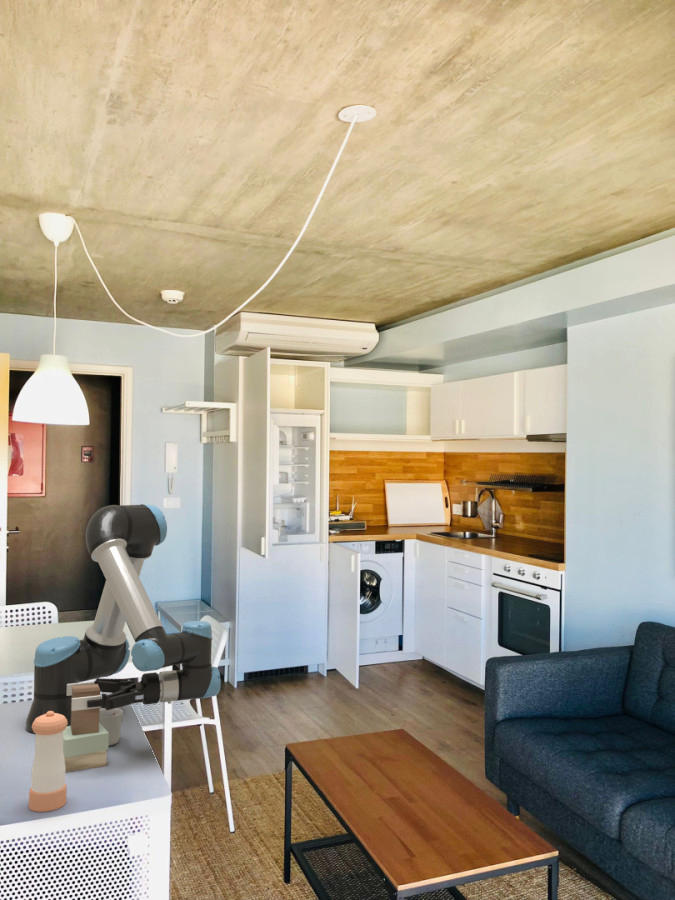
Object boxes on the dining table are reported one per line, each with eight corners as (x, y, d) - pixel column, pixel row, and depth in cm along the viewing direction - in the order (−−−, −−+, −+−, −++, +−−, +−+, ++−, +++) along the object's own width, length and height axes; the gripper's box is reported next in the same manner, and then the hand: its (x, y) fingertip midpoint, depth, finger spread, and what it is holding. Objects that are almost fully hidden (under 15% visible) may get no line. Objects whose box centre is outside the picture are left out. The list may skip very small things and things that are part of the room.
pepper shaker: (35, 797, 158) (38, 706, 159) (70, 796, 158) (72, 706, 159) (23, 812, 150) (26, 717, 151) (60, 811, 151) (62, 716, 152)
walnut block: (70, 727, 180) (72, 686, 181) (96, 724, 182) (97, 683, 183) (72, 735, 175) (73, 692, 175) (98, 732, 177) (100, 690, 177)
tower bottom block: (58, 759, 181) (59, 743, 181) (101, 754, 185) (101, 737, 185) (61, 774, 172) (62, 757, 172) (106, 768, 176) (106, 750, 176)
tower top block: (55, 744, 180) (56, 728, 180) (97, 737, 185) (97, 721, 185) (64, 757, 171) (65, 740, 171) (108, 749, 177) (108, 732, 177)
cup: (74, 745, 190) (75, 713, 190) (94, 735, 197) (95, 704, 197) (109, 750, 186) (109, 718, 186) (128, 740, 193) (129, 709, 194)
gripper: (168, 716, 175) (73, 728, 166) (149, 690, 197) (64, 699, 188) (169, 684, 175) (74, 694, 166) (149, 661, 198) (65, 669, 189)
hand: (69, 697), depth 177 cm, fingers open, 13 cm apart
